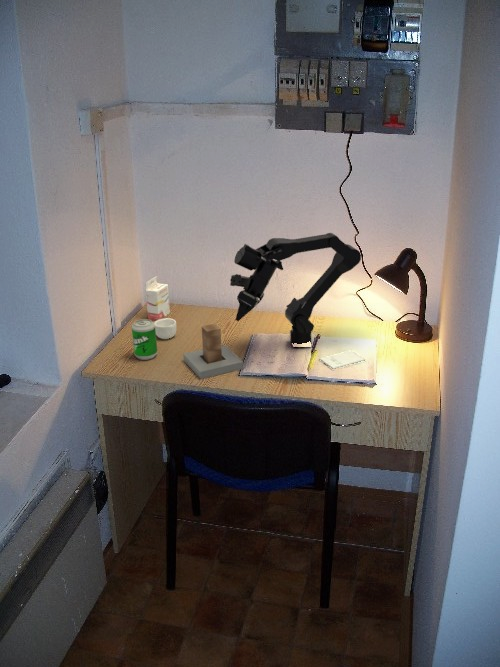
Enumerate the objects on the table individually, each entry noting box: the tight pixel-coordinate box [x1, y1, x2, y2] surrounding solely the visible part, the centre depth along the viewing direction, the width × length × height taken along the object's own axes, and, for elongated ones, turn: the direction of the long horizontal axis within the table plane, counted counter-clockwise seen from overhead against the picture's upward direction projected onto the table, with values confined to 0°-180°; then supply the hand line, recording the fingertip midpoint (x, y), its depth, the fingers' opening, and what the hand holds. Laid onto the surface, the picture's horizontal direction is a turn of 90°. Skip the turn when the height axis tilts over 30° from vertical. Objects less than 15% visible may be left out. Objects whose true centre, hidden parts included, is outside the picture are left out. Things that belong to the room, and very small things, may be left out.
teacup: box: [153, 317, 177, 340], centre depth 230 cm, size 10×8×5 cm
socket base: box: [182, 344, 244, 380], centre depth 209 cm, size 14×14×2 cm
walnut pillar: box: [201, 323, 222, 364], centre depth 207 cm, size 4×4×13 cm
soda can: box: [131, 318, 158, 361], centre depth 214 cm, size 8×8×12 cm
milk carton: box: [145, 275, 171, 321], centre depth 245 cm, size 9×5×15 cm, turn 157°
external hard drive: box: [318, 349, 366, 370], centre depth 210 cm, size 2×8×12 cm
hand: (239, 318), depth 212 cm, fingers open, 9 cm apart
